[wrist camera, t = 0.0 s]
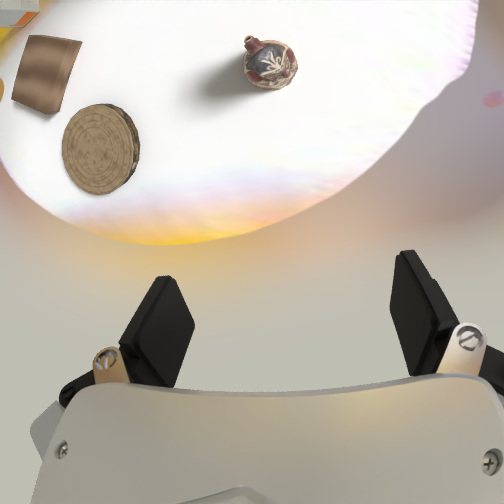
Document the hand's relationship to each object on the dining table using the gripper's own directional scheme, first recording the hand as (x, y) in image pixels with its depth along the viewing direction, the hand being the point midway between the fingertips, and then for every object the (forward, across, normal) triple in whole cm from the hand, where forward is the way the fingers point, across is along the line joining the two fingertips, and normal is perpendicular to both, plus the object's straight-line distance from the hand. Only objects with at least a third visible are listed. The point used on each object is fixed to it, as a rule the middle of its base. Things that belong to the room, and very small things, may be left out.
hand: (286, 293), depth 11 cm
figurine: (+32, 0, -12) cm, 34 cm away
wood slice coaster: (+32, +30, -8) cm, 45 cm away
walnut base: (+32, +39, -28) cm, 58 cm away
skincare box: (+31, +43, -47) cm, 71 cm away
